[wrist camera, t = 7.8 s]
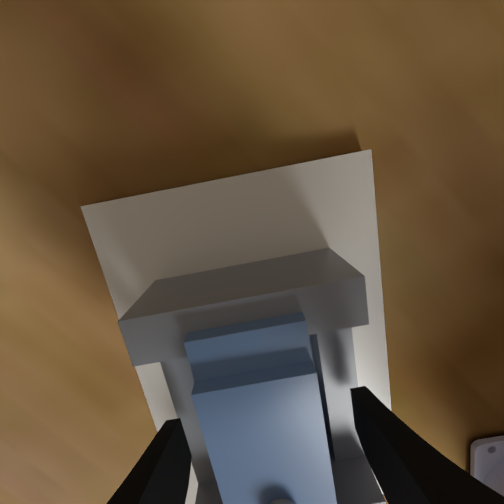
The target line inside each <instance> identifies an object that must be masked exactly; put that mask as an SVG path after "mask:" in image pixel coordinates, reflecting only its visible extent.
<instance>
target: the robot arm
mask: <svg viewBox="0 0 504 504" xmlns="http://www.w3.org/2000/svg"><path fill="white" fill-rule="evenodd" d="M350 391H351V400H352V408H353V416H354V425H355V430H356V432H357V435H358V438H359V441H360V443H361V446H362V449H363V451H364V454H365V456H366V458H367V461H368V463H369V465H370V467H371V469H372V471H373V473H374V475H375V477H376V479H377V481H378V483H379V485H380V487H381V489H382V491H383V493H384V496H385V498H386V500H387V502H388V504H504V435H503V436H497V437H491V438H484V439H478V440H475V441H474V442H473V443H472V444H471V463H470V474H469V473H467V472H466V471H464V470H463V469H461V468H460V467H459V466H457V465H456V464H455V463H453V462H452V461H450V460H449V459H448V458H446V457H445V456H444V455H442V454H441V453H440V452H439V451H437V450H436V449H435V448H433V447H432V446H431V445H430V444H428V443H427V442H426V441H425V440H424V439H422V438H421V437H420V436H419V435H418V434H416V433H415V432H414V431H413V430H412V429H411V428H409V427H408V426H407V425H406V424H405V423H404V422H403V421H401V420H400V419H399V418H398V417H397V416H396V415H395V414H394V413H393V412H392V411H391V410H389V409H388V408H387V407H386V406H385V405H384V404H383V403H382V402H381V401H380V400H379V399H378V398H377V397H376V396H375V395H374V394H373V393H372V392H371V391H370V390H369V389H368V388H367V387H366V386H362V387H356V388H350ZM191 459H192V455H191V451H190V448H189V445H188V442H187V438H186V435H185V432H184V429H183V426H182V422H181V419H180V418H177V419H171V420H166V421H165V423H164V424H163V425H162V427H161V428H160V430H159V431H158V433H157V434H156V436H155V437H154V439H153V440H152V442H151V443H150V445H149V446H148V448H147V449H146V451H145V452H144V453H143V455H142V456H141V458H140V459H139V461H138V462H137V463H136V465H135V466H134V468H133V469H132V471H131V472H130V473H129V475H128V476H127V477H126V479H125V480H124V481H123V483H122V484H121V485H120V487H119V488H118V489H117V491H116V492H115V493H114V495H113V496H112V497H111V499H110V500H109V501H108V502H107V504H185V501H186V496H187V491H188V486H189V478H190V470H191Z"/></svg>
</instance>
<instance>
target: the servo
mask: <svg viewBox="0 0 504 504" xmlns="http://www.w3.org/2000/svg"><path fill="white" fill-rule="evenodd" d="M184 346H185V350H186V353H187V357H188V360H189V364H190V367H191V371H192V374H193V378H194V381H195V382H194V386H193V390H192V394H191V396H192V400H193V403H194V407H195V410H196V413H197V417H198V420H199V424H200V427H201V430H202V434H203V437H204V441H205V444H206V447H207V451H208V454H209V458H210V461H211V464H212V468H213V471H214V475H215V478H216V481H217V485H218V488H219V492H220V495H221V498H222V502H223V504H337V500H336V494H335V488H334V481H333V475H332V468H331V462H330V455H329V449H328V442H327V436H326V429H325V423H324V416H323V410H322V404H321V397H320V391H319V384H318V378H317V372H316V369H315V367H314V364H313V361H312V356H311V349H310V343H309V337H308V330H307V324H306V319H305V317H304V315H303V312H299V313H294V314H288V315H283V316H277V317H272V318H266V319H261V320H255V321H250V322H244V323H239V324H234V325H228V326H223V327H217V328H212V329H206V330H201V331H195V332H190V333H187V335H186V338H185V340H184Z"/></svg>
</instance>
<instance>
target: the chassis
mask: <svg viewBox="0 0 504 504" xmlns="http://www.w3.org/2000/svg"><path fill="white" fill-rule="evenodd" d="M80 207H81V210H82V213H83V216H84V218H85V221H86V224H87V227H88V230H89V233H90V236H91V239H92V242H93V245H94V248H95V251H96V254H97V257H98V259H99V262H100V265H101V268H102V271H103V274H104V277H105V280H106V283H107V286H108V289H109V292H110V295H111V297H112V300H113V303H114V306H115V309H116V312H117V315H118V318H119V320H118V324H119V327H120V330H121V333H122V336H123V339H124V342H125V345H126V347H127V350H128V353H129V356H130V359H131V362H132V365H133V367H134V366H135V368H136V371H137V374H138V377H139V379H140V382H141V385H142V388H143V391H144V394H145V397H146V400H147V403H148V406H149V409H150V412H151V415H152V417H153V420H154V423H155V426H156V429H157V432H158V431H159V430H160V428H161V427H162V425H163V424H164V423H165V421H166V420H171V419H177V418H180V419H181V422H182V426H183V429H184V432H185V435H186V438H187V442H188V445H189V448H190V451H191V455H192V459H191V470H190V478H189V486H188V491H187V496H186V501H185V504H223V502H222V498H221V495H220V492H219V488H218V485H217V481H216V478H215V475H214V471H213V468H212V464H211V461H210V458H209V454H208V451H207V447H206V444H205V441H204V437H203V434H202V430H201V427H200V424H199V420H198V417H197V413H196V410H195V407H194V403H193V400H192V396H191V394H192V390H193V386H194V382H195V381H194V378H193V374H192V371H191V367H190V364H189V360H188V357H187V353H186V350H185V346H184V340H185V338H186V335H187V333H190V332H195V331H201V330H206V329H212V328H217V327H223V326H228V325H234V324H239V323H244V322H250V321H255V320H261V319H266V318H272V317H277V316H283V315H288V314H294V313H299V312H303V315H304V317H305V319H306V324H307V330H308V337H309V343H310V349H311V356H312V361H313V364H314V367H315V369H316V372H317V378H318V384H319V391H320V397H321V404H322V410H323V416H324V423H325V429H326V436H327V442H328V449H329V455H330V462H331V468H332V475H333V481H334V488H335V494H336V500H337V504H386V501H385V499H384V497H383V495H382V494H384V493H383V491H382V489H381V487H380V485H379V483H378V481H377V479H376V477H375V475H374V473H373V471H372V469H371V467H370V465H369V463H368V461H367V458H366V456H365V454H364V451H363V449H362V446H361V443H360V441H359V438H358V435H357V432H356V430H355V425H354V416H353V408H352V400H351V391H350V388H356V387H362V386H366V387H367V388H368V389H369V390H370V391H371V392H372V393H373V394H374V395H375V396H376V397H377V398H378V399H379V400H380V401H381V402H382V403H383V404H384V405H385V406H386V407H387V408H388V409H389V410H391V398H390V385H389V372H388V359H387V346H386V333H385V320H384V307H383V294H382V281H381V268H380V255H379V242H378V229H377V216H376V203H375V190H374V177H373V164H372V151H371V149H370V150H365V151H360V152H355V153H350V154H345V155H339V156H334V157H329V158H324V159H319V160H314V161H309V162H304V163H299V164H294V165H289V166H283V167H278V168H273V169H268V170H263V171H258V172H253V173H248V174H243V175H238V176H233V177H228V178H222V179H217V180H212V181H207V182H202V183H197V184H192V185H187V186H182V187H177V188H172V189H167V190H161V191H156V192H151V193H146V194H141V195H136V196H131V197H126V198H121V199H116V200H111V201H105V202H100V203H95V204H90V205H85V206H80Z"/></svg>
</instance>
